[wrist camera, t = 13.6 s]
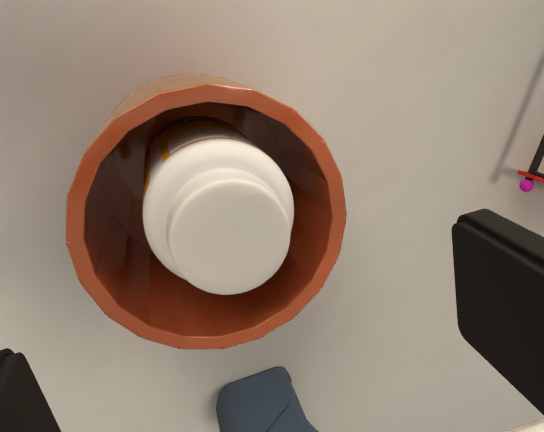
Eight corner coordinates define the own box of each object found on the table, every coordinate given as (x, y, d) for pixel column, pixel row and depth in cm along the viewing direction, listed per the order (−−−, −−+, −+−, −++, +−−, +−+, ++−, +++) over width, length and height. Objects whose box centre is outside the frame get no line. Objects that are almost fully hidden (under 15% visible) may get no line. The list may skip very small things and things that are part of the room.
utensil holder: (48, 184, 24) (0, 248, 17) (185, 27, 24) (202, 17, 16) (203, 297, 28) (224, 392, 20) (325, 165, 27) (396, 211, 20)
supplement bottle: (206, 241, 26) (237, 347, 17) (120, 175, 24) (101, 255, 15) (276, 162, 26) (348, 227, 16) (194, 89, 24) (223, 115, 14)
